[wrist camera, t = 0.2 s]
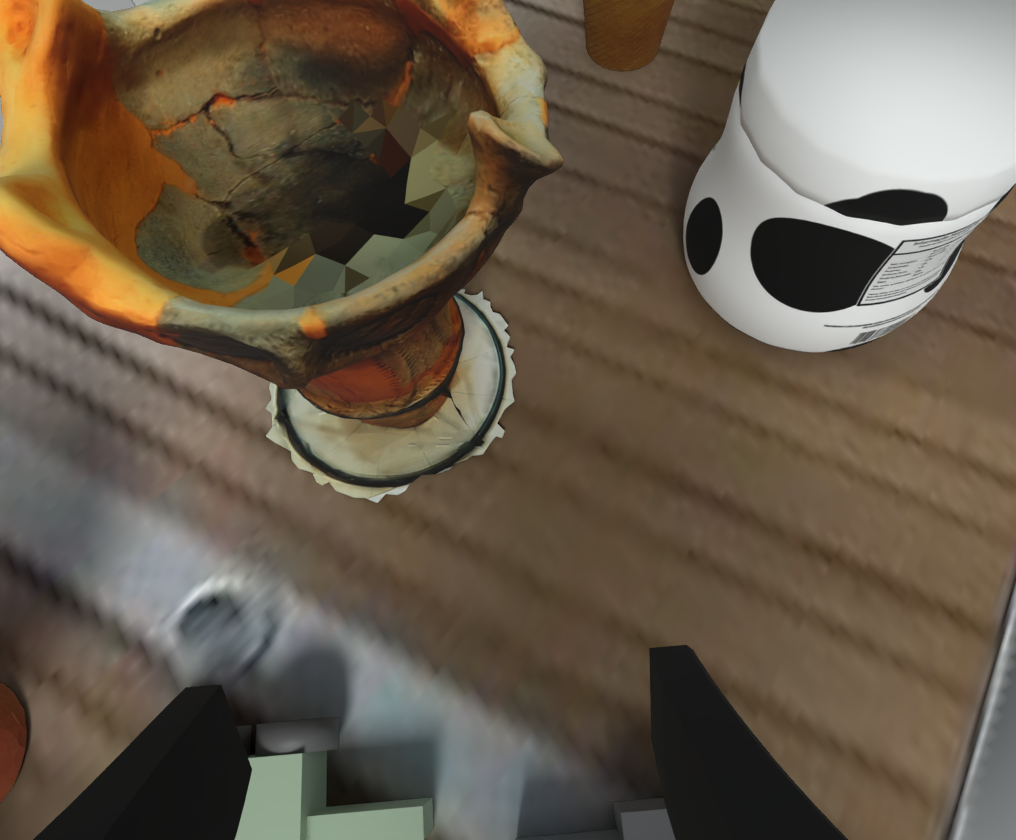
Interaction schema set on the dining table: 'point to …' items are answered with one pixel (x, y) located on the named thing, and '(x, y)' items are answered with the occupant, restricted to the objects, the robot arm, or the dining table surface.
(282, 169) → the decorative vase
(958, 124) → the milk container
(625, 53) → the disposable coffee cup
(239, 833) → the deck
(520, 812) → the dining table surface
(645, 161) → the dining table surface
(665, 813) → the grey stepped block
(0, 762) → the terracotta pot
